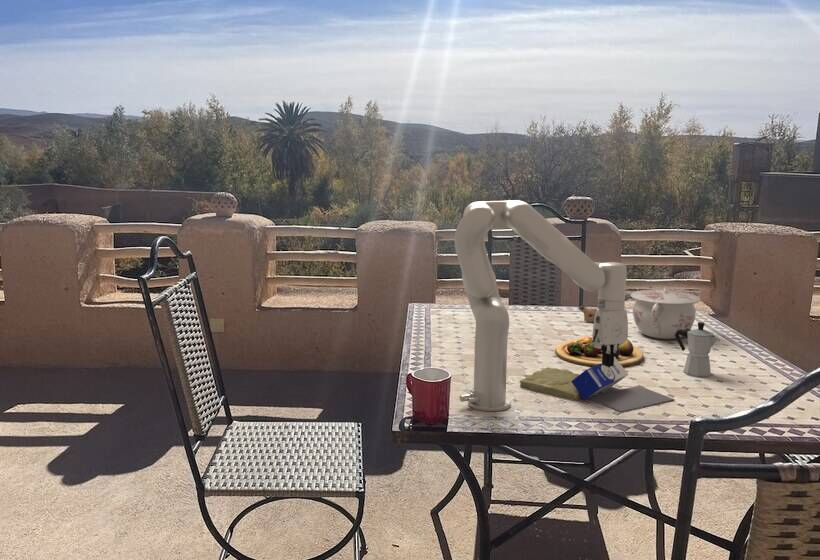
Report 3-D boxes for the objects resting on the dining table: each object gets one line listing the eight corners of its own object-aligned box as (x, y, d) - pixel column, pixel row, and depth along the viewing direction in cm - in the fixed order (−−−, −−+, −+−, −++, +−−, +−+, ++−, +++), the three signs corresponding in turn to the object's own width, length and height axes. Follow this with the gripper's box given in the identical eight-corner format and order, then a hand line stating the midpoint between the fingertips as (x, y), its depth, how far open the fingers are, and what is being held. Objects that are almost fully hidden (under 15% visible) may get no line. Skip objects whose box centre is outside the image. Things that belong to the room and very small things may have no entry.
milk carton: (585, 369, 201) (614, 356, 216) (570, 381, 205) (600, 367, 220) (600, 388, 199) (628, 374, 214) (584, 400, 203) (613, 385, 217)
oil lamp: (578, 322, 302) (578, 305, 301) (578, 320, 306) (578, 303, 305) (598, 323, 300) (599, 306, 299) (598, 321, 304) (599, 304, 302)
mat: (620, 412, 194) (620, 411, 194) (587, 397, 206) (587, 396, 206) (674, 400, 204) (674, 399, 204) (639, 386, 216) (639, 385, 216)
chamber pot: (667, 325, 297) (670, 279, 294) (712, 341, 272) (717, 291, 268) (613, 330, 289) (616, 283, 285) (655, 346, 263) (658, 295, 259)
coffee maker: (720, 374, 229) (725, 323, 226) (710, 380, 222) (715, 328, 219) (677, 365, 239) (681, 316, 236) (667, 370, 233) (670, 320, 230)
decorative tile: (576, 402, 203) (577, 391, 203) (519, 388, 216) (519, 377, 215) (602, 387, 217) (603, 376, 217) (547, 374, 230) (547, 364, 229)
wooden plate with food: (574, 340, 273) (574, 320, 272) (654, 352, 255) (655, 331, 254) (541, 360, 248) (541, 339, 246) (627, 375, 230) (628, 352, 228)
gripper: (600, 309, 188) (597, 372, 191) (639, 304, 195) (635, 365, 198) (582, 304, 195) (579, 365, 198) (620, 300, 202) (617, 358, 205)
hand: (607, 365), depth 198 cm, fingers closed
